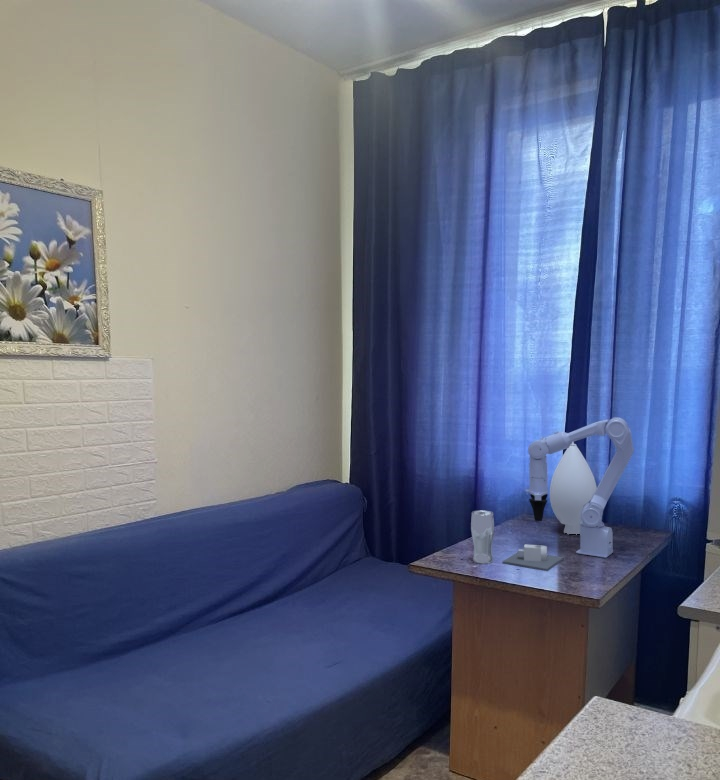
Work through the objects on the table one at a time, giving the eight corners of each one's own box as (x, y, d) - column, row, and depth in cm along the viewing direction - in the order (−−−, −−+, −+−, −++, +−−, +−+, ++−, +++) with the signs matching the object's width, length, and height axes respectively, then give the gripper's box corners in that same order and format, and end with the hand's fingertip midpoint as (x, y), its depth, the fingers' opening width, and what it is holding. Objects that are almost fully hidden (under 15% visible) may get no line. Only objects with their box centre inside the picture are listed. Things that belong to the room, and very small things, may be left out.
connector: (547, 558, 197) (547, 545, 197) (547, 561, 194) (546, 548, 194) (518, 556, 200) (518, 544, 200) (518, 559, 196) (517, 546, 196)
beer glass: (467, 559, 200) (466, 511, 200) (486, 556, 203) (486, 509, 202) (479, 565, 194) (478, 516, 193) (498, 562, 196) (498, 513, 196)
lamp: (541, 533, 231) (540, 435, 230) (565, 525, 241) (564, 432, 240) (582, 541, 219) (581, 438, 218) (605, 532, 230) (604, 435, 229)
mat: (563, 559, 198) (563, 557, 198) (547, 571, 187) (547, 569, 187) (520, 552, 207) (520, 550, 207) (502, 563, 195) (502, 561, 195)
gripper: (526, 473, 219) (527, 512, 219) (524, 480, 205) (525, 522, 205) (548, 473, 217) (548, 513, 217) (547, 481, 203) (548, 523, 203)
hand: (538, 518), depth 211 cm, fingers open, 7 cm apart
